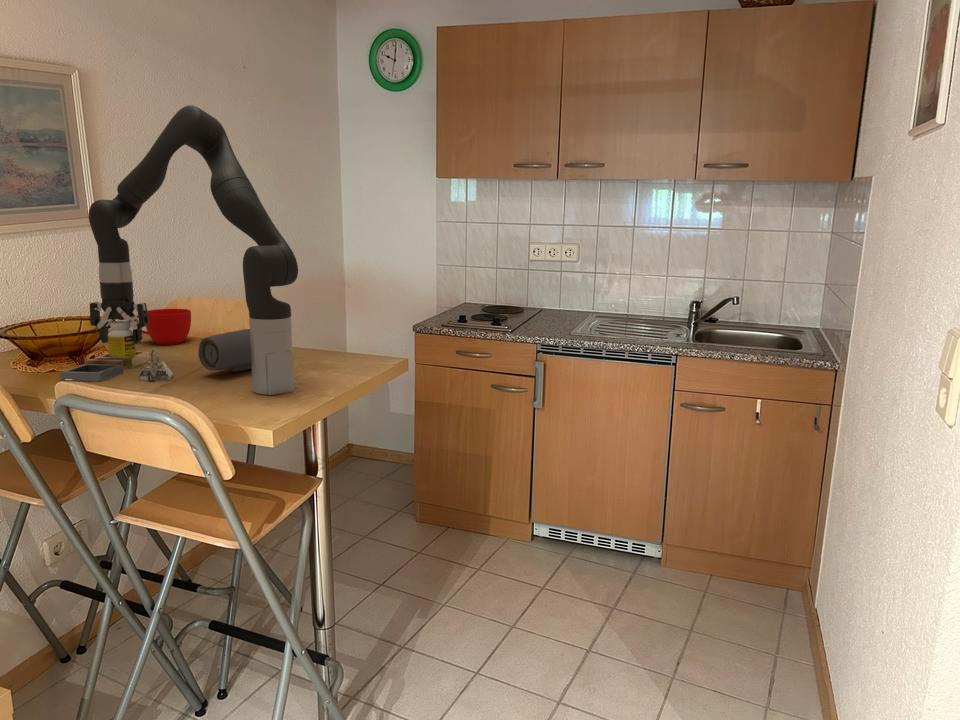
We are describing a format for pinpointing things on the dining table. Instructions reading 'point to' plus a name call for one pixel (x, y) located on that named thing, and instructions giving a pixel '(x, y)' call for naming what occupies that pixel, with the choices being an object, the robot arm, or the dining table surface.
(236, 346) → the bluetooth speaker
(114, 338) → the pill bottle
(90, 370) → the graphite socket
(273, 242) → the robot arm
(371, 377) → the dining table surface
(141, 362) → the brass socket
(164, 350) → the dining table surface
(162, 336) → the ceramic cup
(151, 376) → the house of cards
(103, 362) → the door edge sill
